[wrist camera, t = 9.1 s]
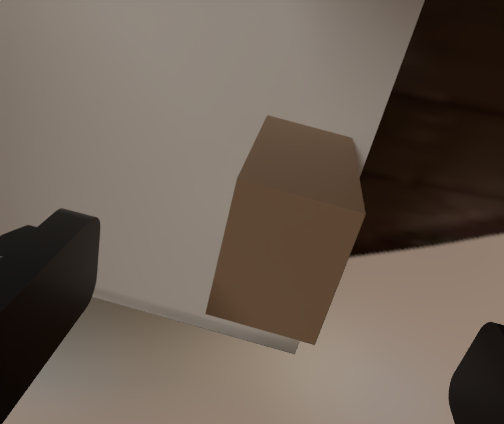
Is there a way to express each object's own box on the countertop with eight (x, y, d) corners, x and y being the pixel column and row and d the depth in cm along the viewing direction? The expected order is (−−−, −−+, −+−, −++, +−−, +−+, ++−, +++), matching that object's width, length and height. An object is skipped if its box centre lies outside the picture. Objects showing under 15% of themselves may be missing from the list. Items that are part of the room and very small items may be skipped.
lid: (-54, -170, 15) (-388, -312, 8) (429, -47, 15) (526, -82, 8) (-30, 232, 22) (-196, 346, 15) (297, 324, 22) (283, 485, 15)
